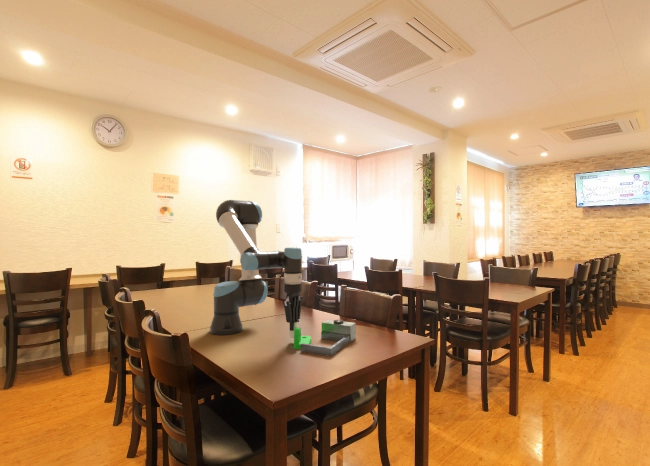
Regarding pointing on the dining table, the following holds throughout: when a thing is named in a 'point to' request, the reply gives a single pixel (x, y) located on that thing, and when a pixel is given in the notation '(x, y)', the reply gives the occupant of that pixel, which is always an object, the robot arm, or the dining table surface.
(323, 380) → the dining table surface
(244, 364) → the dining table surface
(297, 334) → the mechanical part
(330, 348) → the knobbed latch bracket
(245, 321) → the dining table surface
